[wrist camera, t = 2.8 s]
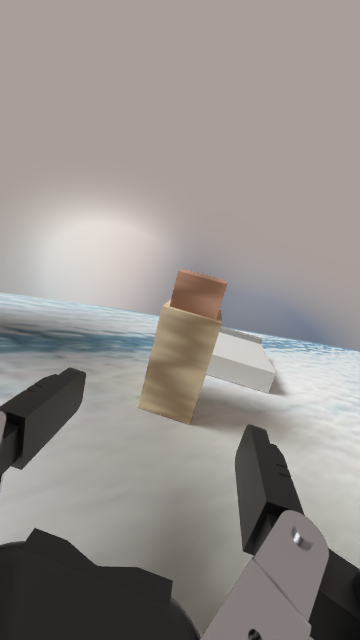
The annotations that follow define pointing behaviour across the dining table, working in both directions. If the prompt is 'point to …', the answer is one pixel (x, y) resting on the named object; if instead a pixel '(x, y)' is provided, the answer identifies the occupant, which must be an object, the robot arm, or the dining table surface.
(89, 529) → the dining table surface
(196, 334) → the beige tall block
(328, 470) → the dining table surface
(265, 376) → the dock
